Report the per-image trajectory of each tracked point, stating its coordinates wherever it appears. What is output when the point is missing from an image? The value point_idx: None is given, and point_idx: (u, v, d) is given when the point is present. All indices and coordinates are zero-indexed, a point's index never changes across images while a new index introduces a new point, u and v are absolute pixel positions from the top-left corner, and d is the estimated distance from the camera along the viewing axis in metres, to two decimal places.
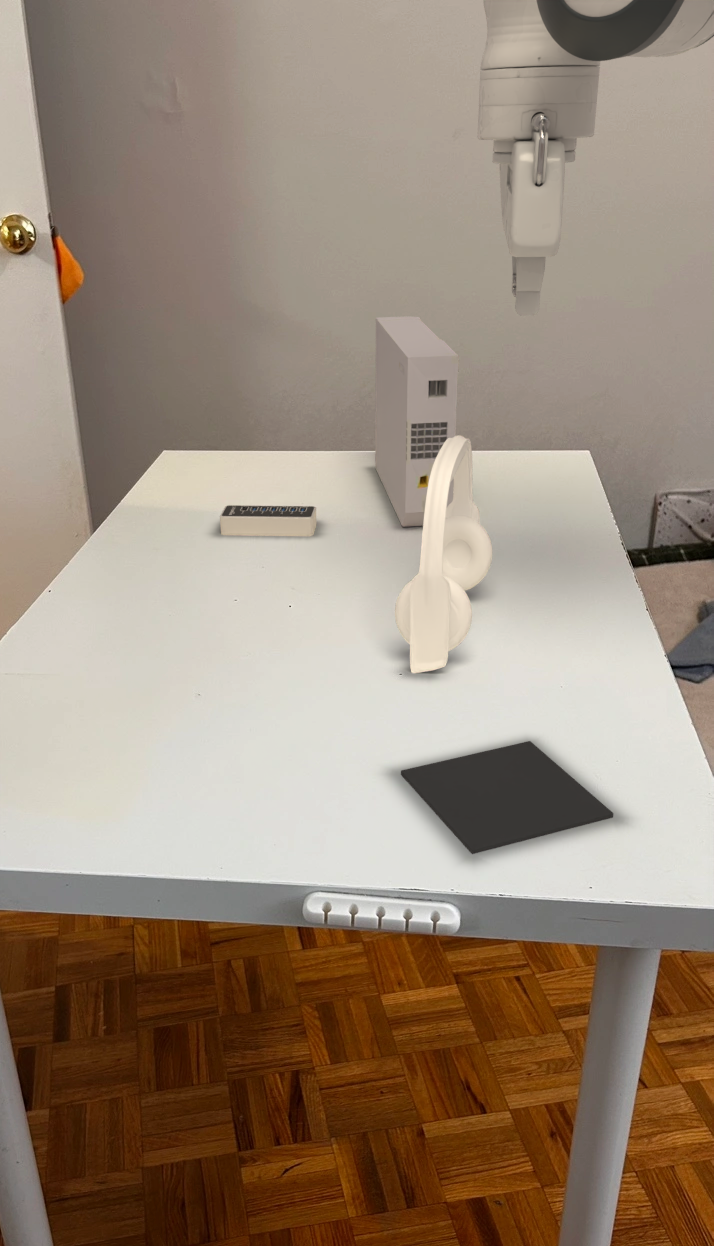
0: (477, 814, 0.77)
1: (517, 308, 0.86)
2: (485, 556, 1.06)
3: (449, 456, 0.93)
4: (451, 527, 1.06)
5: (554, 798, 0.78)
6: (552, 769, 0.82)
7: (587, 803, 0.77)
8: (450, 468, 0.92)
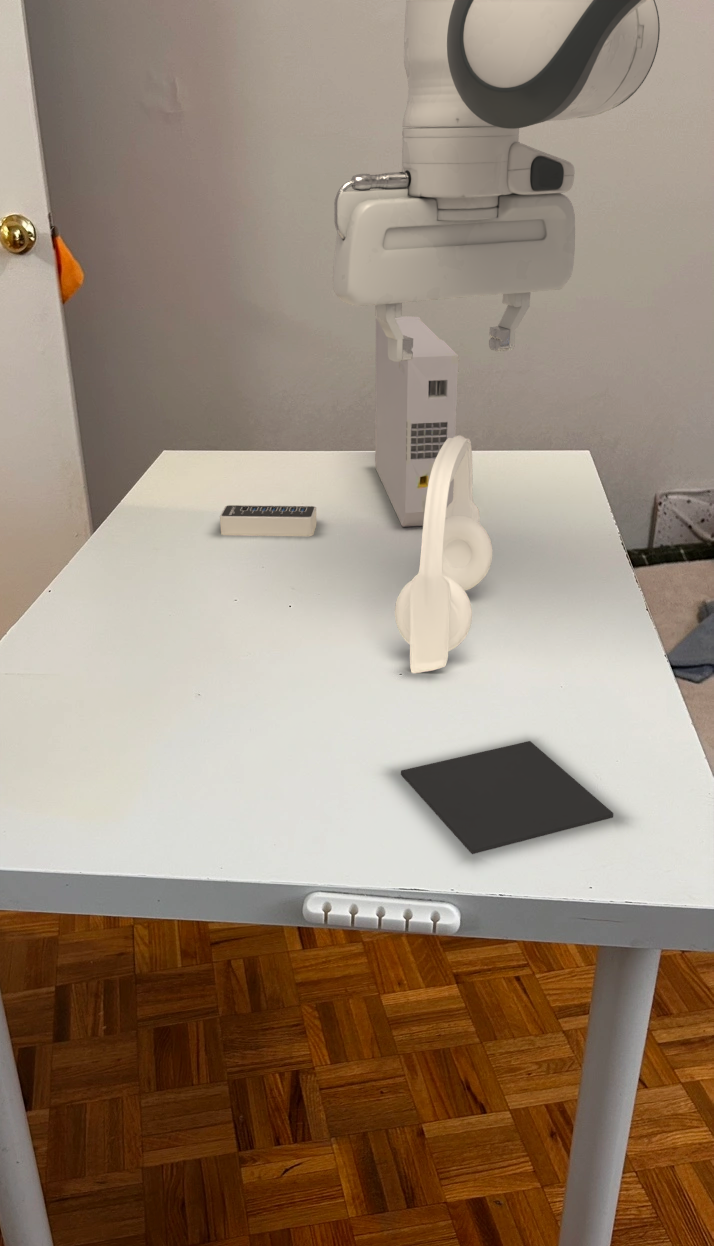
0: (477, 814, 0.77)
1: (388, 352, 0.91)
2: (485, 556, 1.06)
3: (449, 456, 0.93)
4: (451, 527, 1.06)
5: (554, 798, 0.78)
6: (552, 769, 0.82)
7: (587, 803, 0.77)
8: (450, 468, 0.92)
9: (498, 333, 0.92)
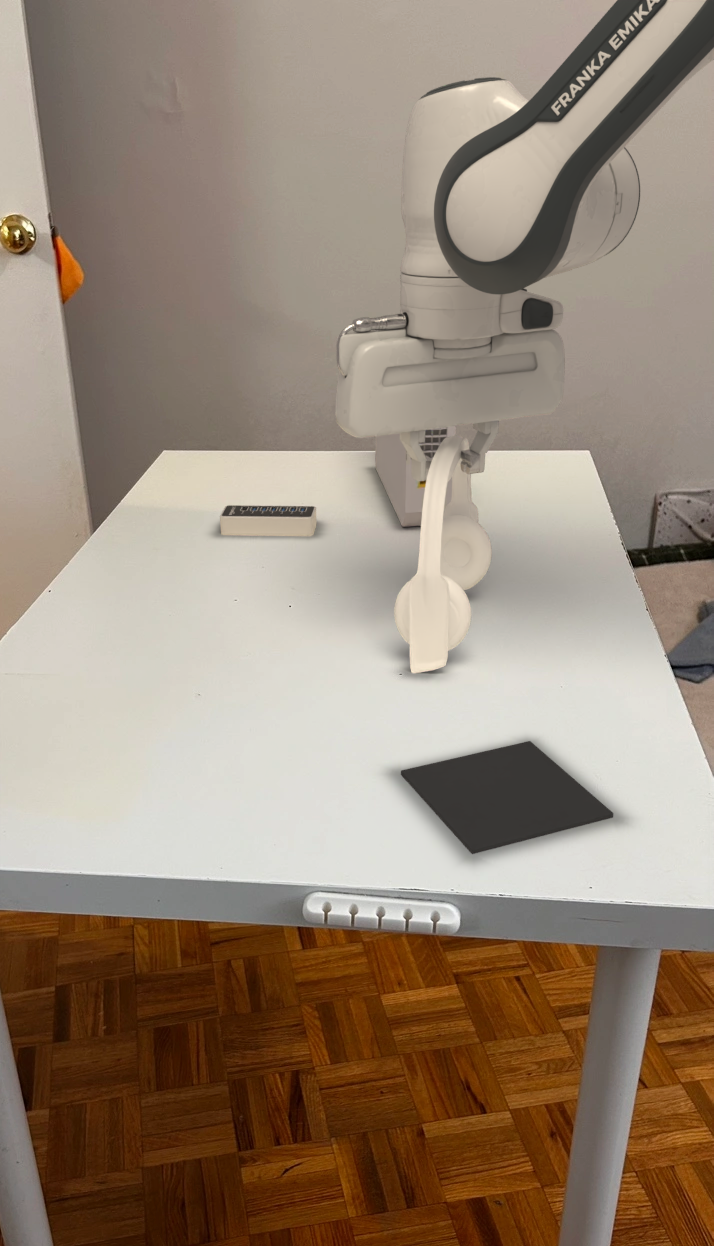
0: (477, 814, 0.77)
1: (411, 471, 0.96)
2: (484, 555, 1.06)
3: (446, 455, 0.93)
4: (449, 527, 1.06)
5: (554, 798, 0.78)
6: (552, 769, 0.82)
7: (587, 803, 0.77)
8: (447, 468, 0.92)
9: (469, 458, 0.96)
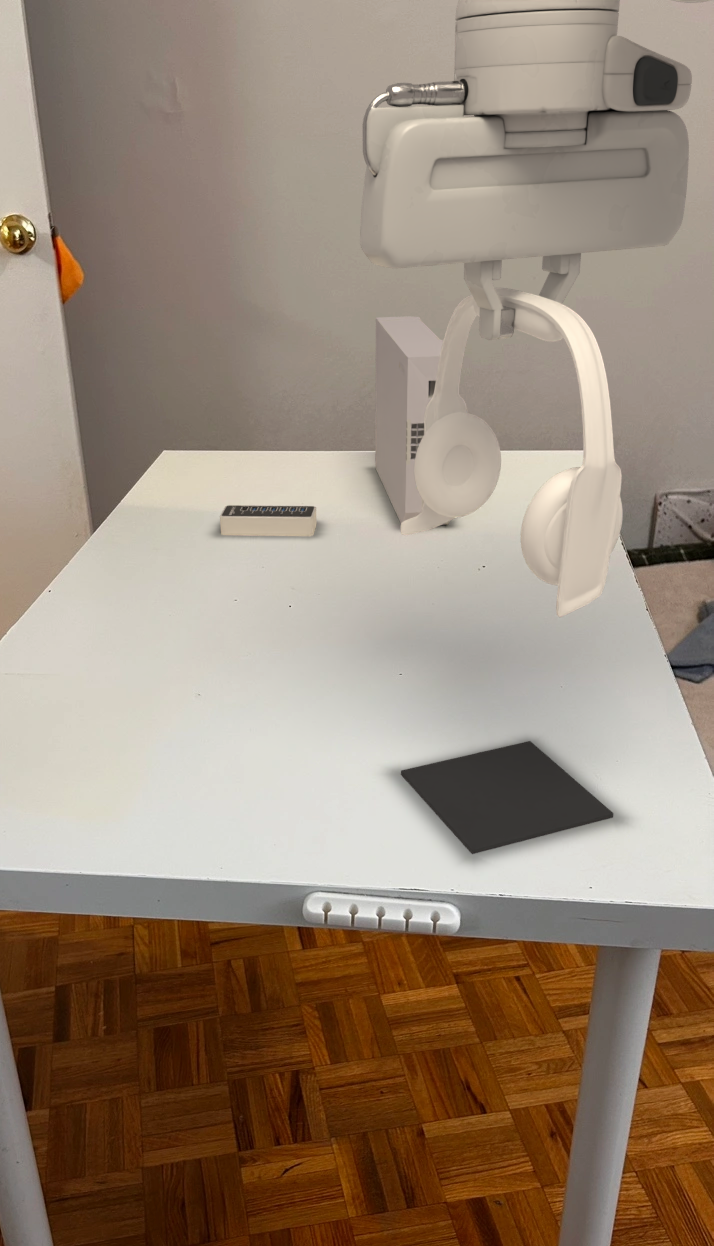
0: (477, 814, 0.77)
1: (479, 328, 0.68)
2: (498, 460, 0.80)
3: (550, 300, 0.65)
4: (456, 429, 0.77)
5: (554, 798, 0.78)
6: (552, 769, 0.82)
7: (587, 803, 0.77)
8: (573, 312, 0.64)
9: None
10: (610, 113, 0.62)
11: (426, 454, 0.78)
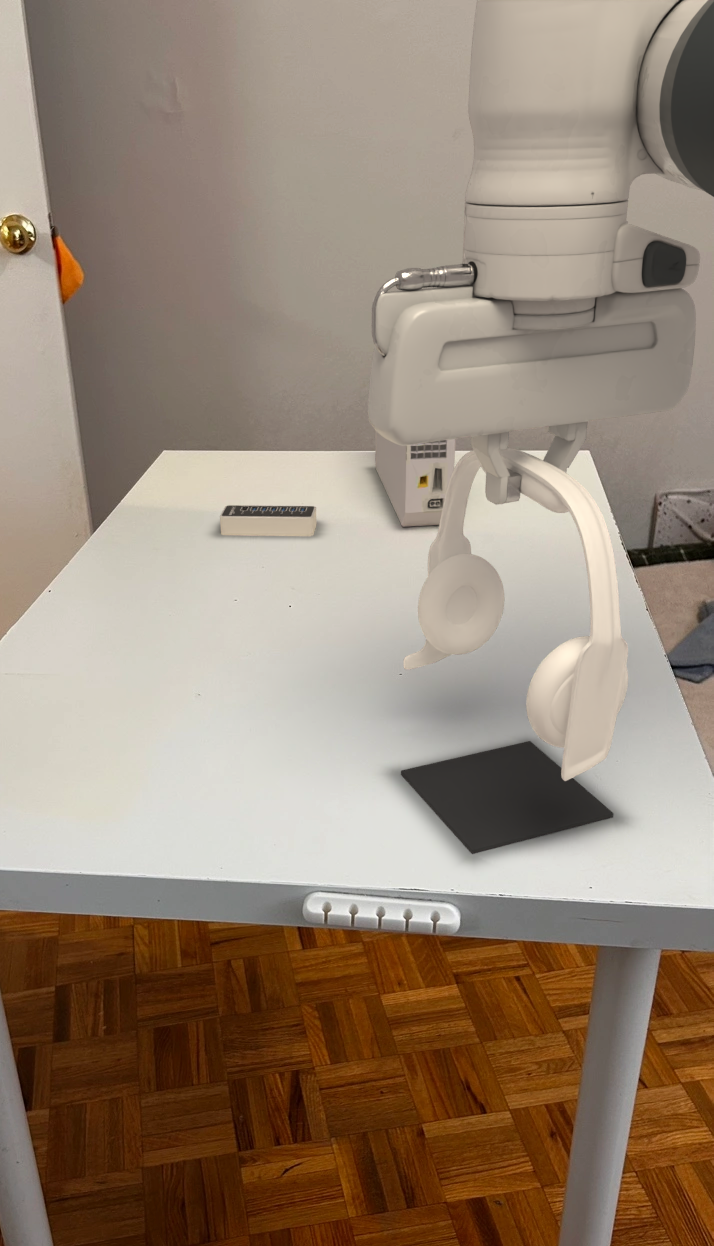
0: (477, 814, 0.77)
1: (486, 491, 0.68)
2: (502, 600, 0.80)
3: (557, 470, 0.65)
4: (460, 572, 0.77)
5: (554, 798, 0.78)
6: (552, 769, 0.82)
7: (587, 803, 0.77)
8: (580, 486, 0.64)
9: None
10: (618, 293, 0.62)
11: (430, 597, 0.78)
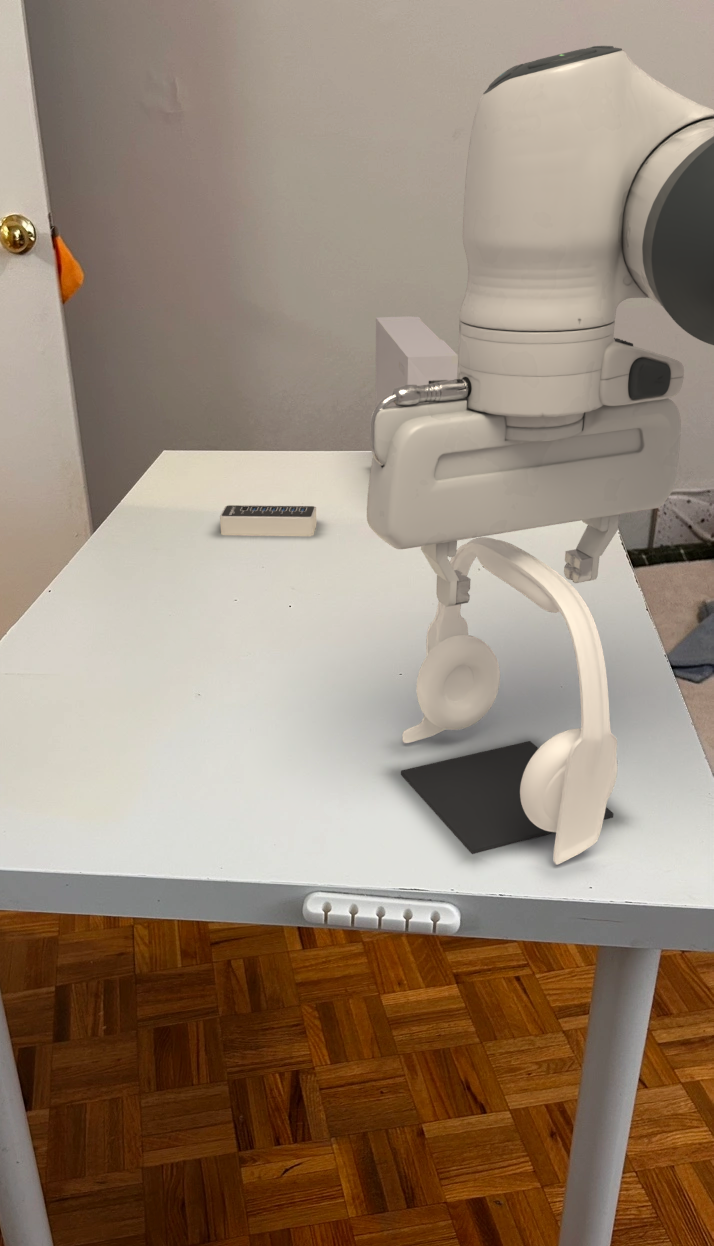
0: (477, 814, 0.77)
1: (437, 592, 0.70)
2: (497, 678, 0.83)
3: (550, 571, 0.68)
4: (457, 654, 0.80)
5: None
6: None
7: None
8: (572, 588, 0.67)
9: (577, 562, 0.72)
10: (606, 405, 0.65)
11: (428, 677, 0.81)
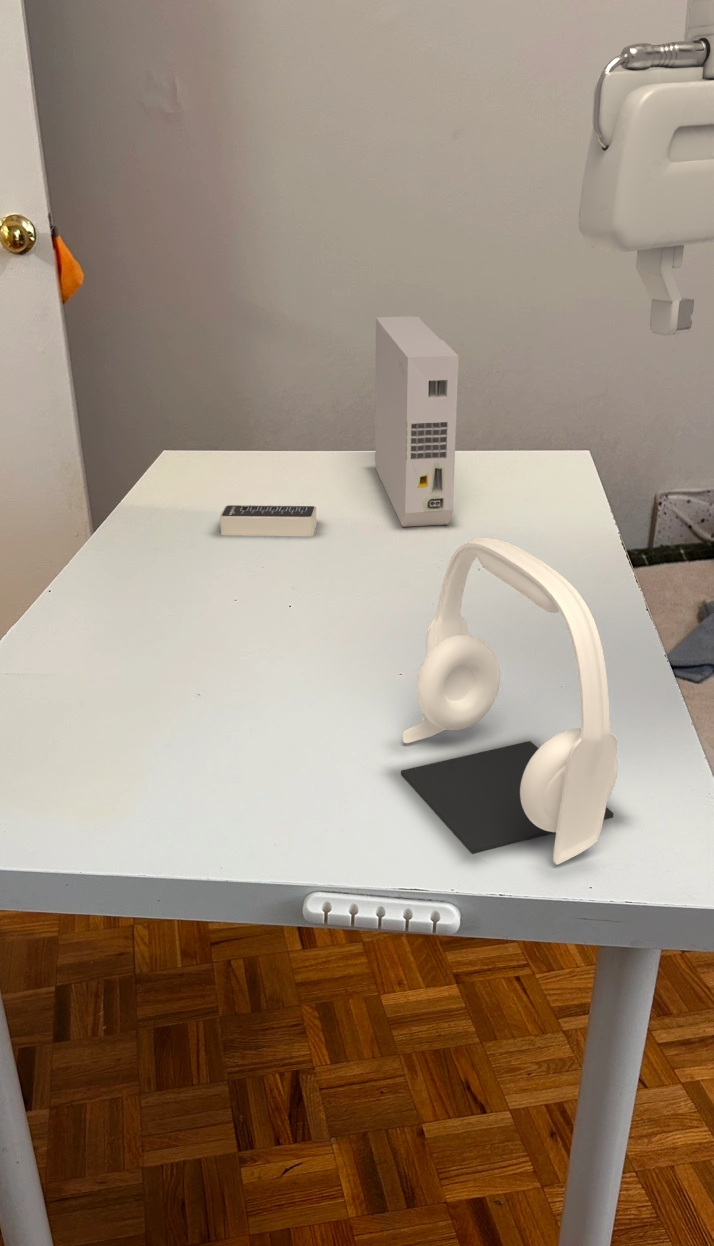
0: (477, 814, 0.77)
1: (651, 322, 0.61)
2: (497, 678, 0.83)
3: (550, 571, 0.68)
4: (457, 654, 0.80)
5: None
6: None
7: None
8: (572, 588, 0.67)
9: None
10: None
11: (428, 677, 0.81)
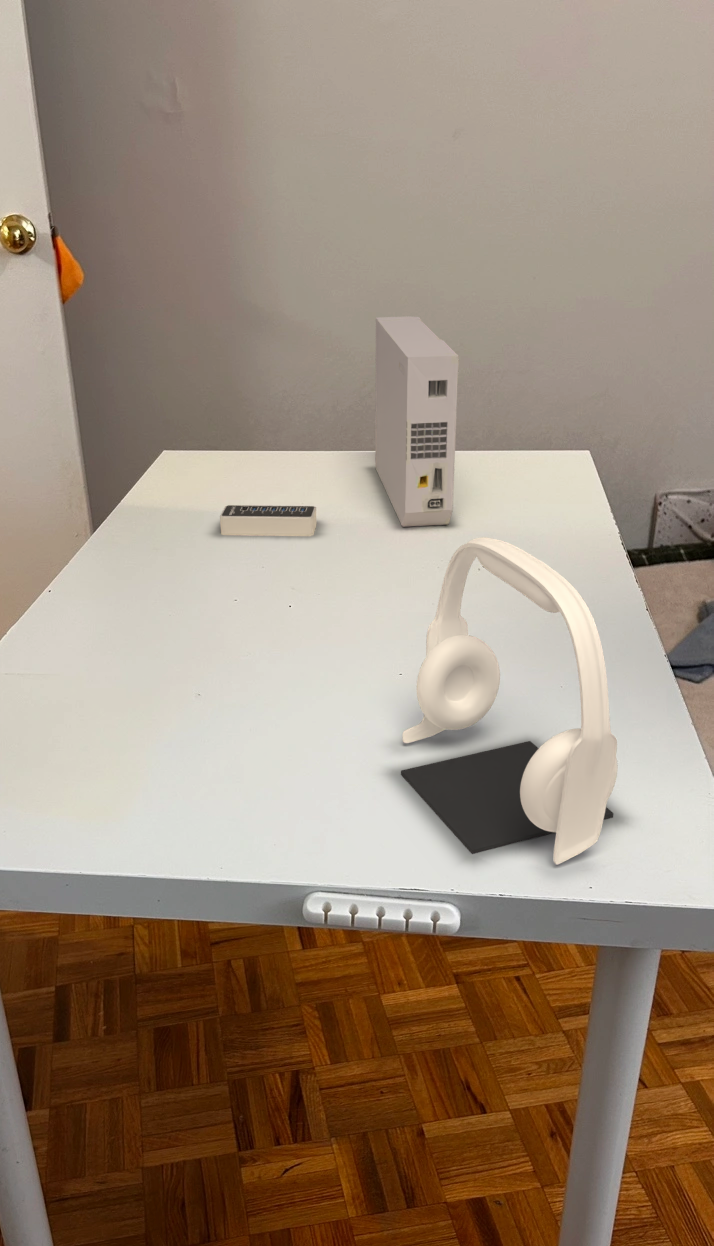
0: (477, 814, 0.77)
1: None
2: (497, 678, 0.83)
3: (550, 571, 0.68)
4: (457, 654, 0.80)
5: None
6: None
7: None
8: (572, 588, 0.67)
9: None
10: None
11: (428, 677, 0.81)
